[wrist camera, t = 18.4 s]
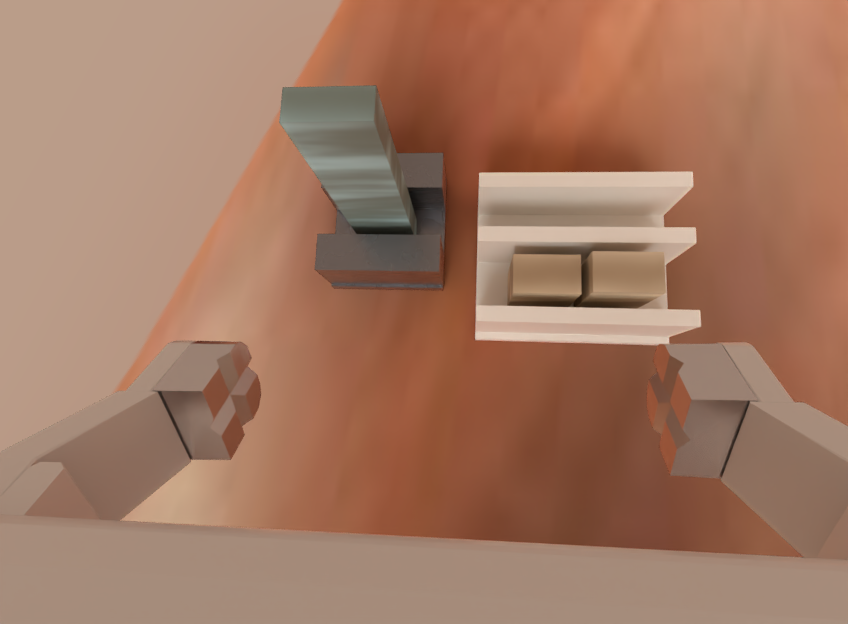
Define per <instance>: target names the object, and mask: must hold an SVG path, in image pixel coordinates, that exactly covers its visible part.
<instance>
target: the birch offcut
mask: <svg viewBox="0 0 848 624" xmlns="http://www.w3.org/2000/svg"><path fill="white" fill-rule="evenodd" d="M581 294H582V292H581V255H551V254H513V257H512V260H511V264H510V267H509V271H508V296H507V306H536V307H569V306H570V305H571V304H572V303H573V302H574V301H575V300H576V299H577V298H578V297H579V296H580V295H581Z"/></svg>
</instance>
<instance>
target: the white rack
mask: <svg viewBox="0 0 848 624" xmlns="http://www.w3.org/2000/svg"><path fill="white" fill-rule="evenodd" d="M692 188H693V172H490V173H479V194H478V234H477V278H476V323H475V340H487V341H523V342H558V343H594V344H629V345H659V344H669V337H671V336H674V335H677V334H680V333H683V332H686V331H689V330H692V329H695V328H698V327H701V315H700V310H675V309H668V304H667V281H666V264H668V263H669V262H670V261H672V260H673V259H675V258H676V257H677V256H679V255H680V254H682V253H683V252H685V251H686V250H687V249H689V248H690V247H692V246H693V245H695V244H696V243H697V242H696V227H664V215H665V214H666V213H667V212H668V211H669V210H670V209H671V208H672V207H673V206H674V205H675V204H676V203H677V202H678V201H679V200H680V199H681V198H682V197H683V196H684V195H685V194H686V193H687V192H688V191H690V190H691V189H692ZM592 251H621V252H664V259H665V283H666V293H665V294H663V295H661V296H659V297H658V298H656V299H654V300H652V301H650V302H649V303H647V304H645V305H643V306H641V307H640V308H638V309H629V308H582V307H574V302H573V303H572V304H571V305H570V306H569V307H536V306H507V296H508V271H509V267H510V264H511V260H512V257H513V254H551V255H581V265H582V264H583V262H584V261H585V260H586V259H587V257H588V256H589V255H590V254H591V252H592Z"/></svg>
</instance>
